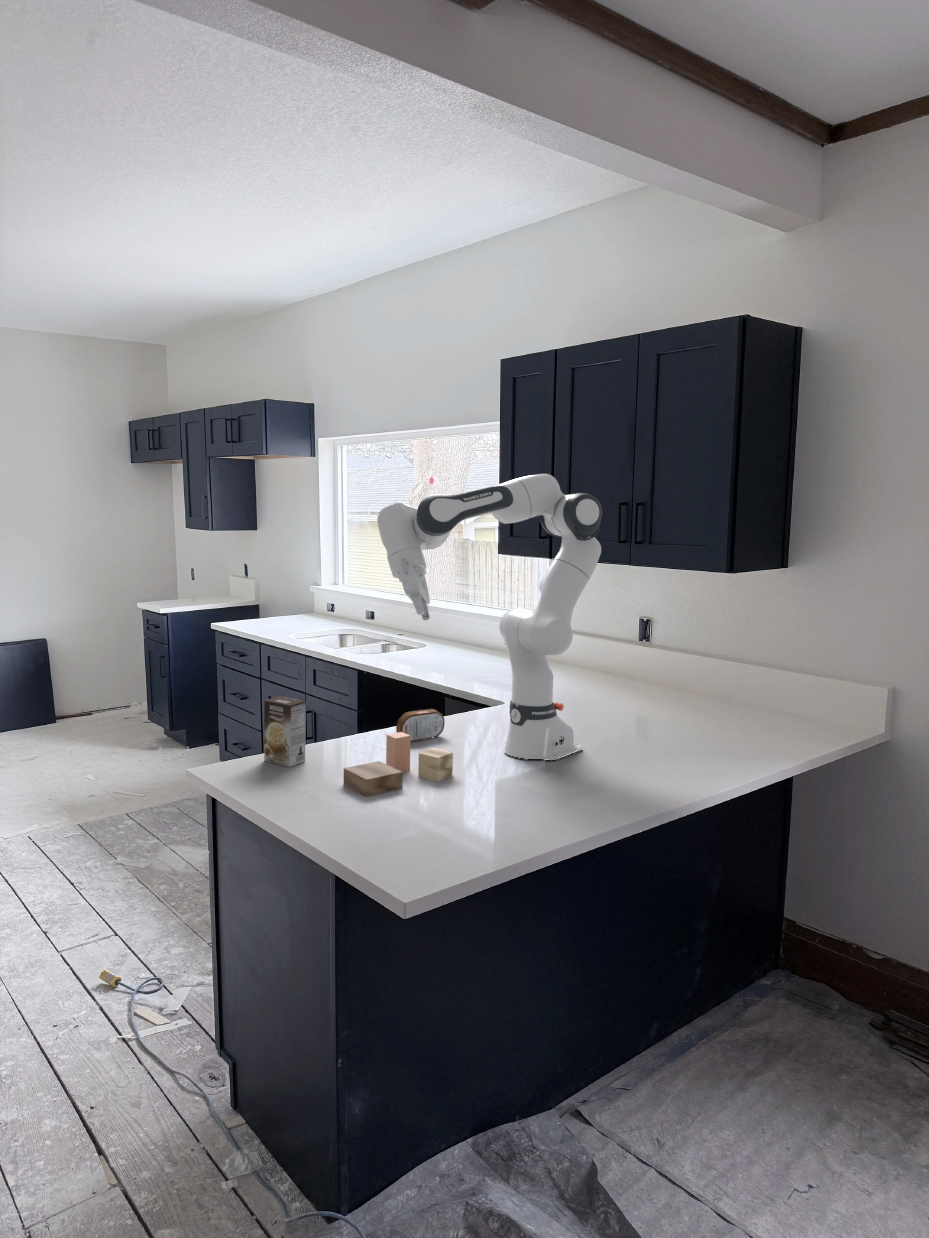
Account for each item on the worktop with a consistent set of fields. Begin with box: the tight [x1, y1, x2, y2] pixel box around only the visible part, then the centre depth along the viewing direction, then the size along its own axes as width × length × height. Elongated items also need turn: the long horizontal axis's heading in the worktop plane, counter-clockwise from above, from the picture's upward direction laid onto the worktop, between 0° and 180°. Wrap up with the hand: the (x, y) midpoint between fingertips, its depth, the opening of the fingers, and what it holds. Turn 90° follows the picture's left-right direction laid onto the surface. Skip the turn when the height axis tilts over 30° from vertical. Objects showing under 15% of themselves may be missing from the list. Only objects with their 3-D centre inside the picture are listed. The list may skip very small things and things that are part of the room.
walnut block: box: [343, 760, 404, 797], centre depth 200 cm, size 10×10×4 cm
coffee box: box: [263, 695, 307, 768], centre depth 217 cm, size 9×6×16 cm
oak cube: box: [417, 747, 454, 782], centre depth 209 cm, size 6×6×6 cm
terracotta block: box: [385, 732, 411, 772], centre depth 213 cm, size 4×4×9 cm
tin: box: [395, 708, 446, 743], centre depth 241 cm, size 15×3×8 cm, turn 125°
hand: (424, 617), depth 210 cm, fingers open, 8 cm apart
